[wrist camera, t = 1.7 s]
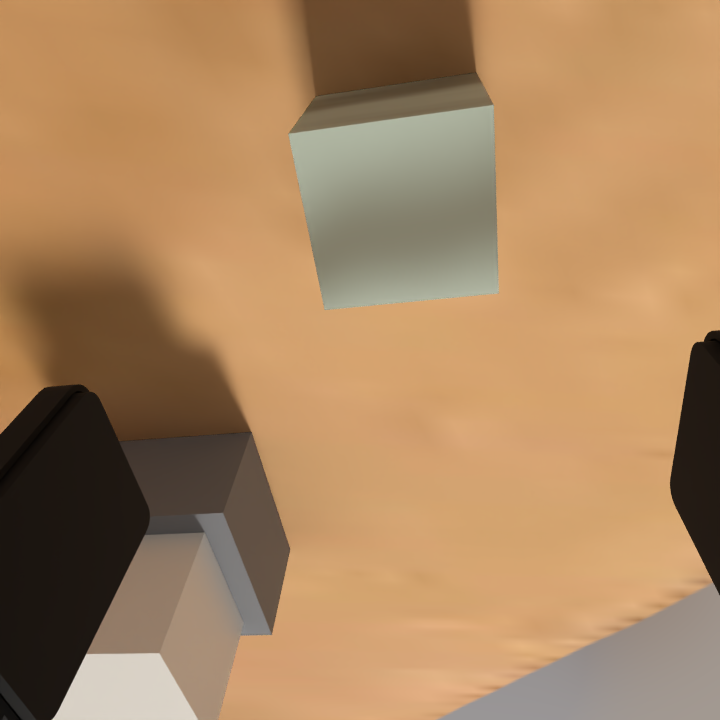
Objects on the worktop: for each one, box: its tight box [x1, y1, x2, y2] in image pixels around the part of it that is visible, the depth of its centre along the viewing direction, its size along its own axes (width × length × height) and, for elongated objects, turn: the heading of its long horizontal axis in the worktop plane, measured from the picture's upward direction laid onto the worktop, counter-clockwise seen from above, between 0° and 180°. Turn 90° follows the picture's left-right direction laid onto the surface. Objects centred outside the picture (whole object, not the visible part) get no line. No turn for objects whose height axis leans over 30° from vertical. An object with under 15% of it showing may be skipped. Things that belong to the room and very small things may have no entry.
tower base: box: [119, 432, 290, 635], centre depth 28 cm, size 8×8×5 cm
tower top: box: [52, 532, 243, 720], centre depth 24 cm, size 6×6×5 cm
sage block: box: [289, 72, 499, 310], centre depth 18 cm, size 5×5×5 cm
